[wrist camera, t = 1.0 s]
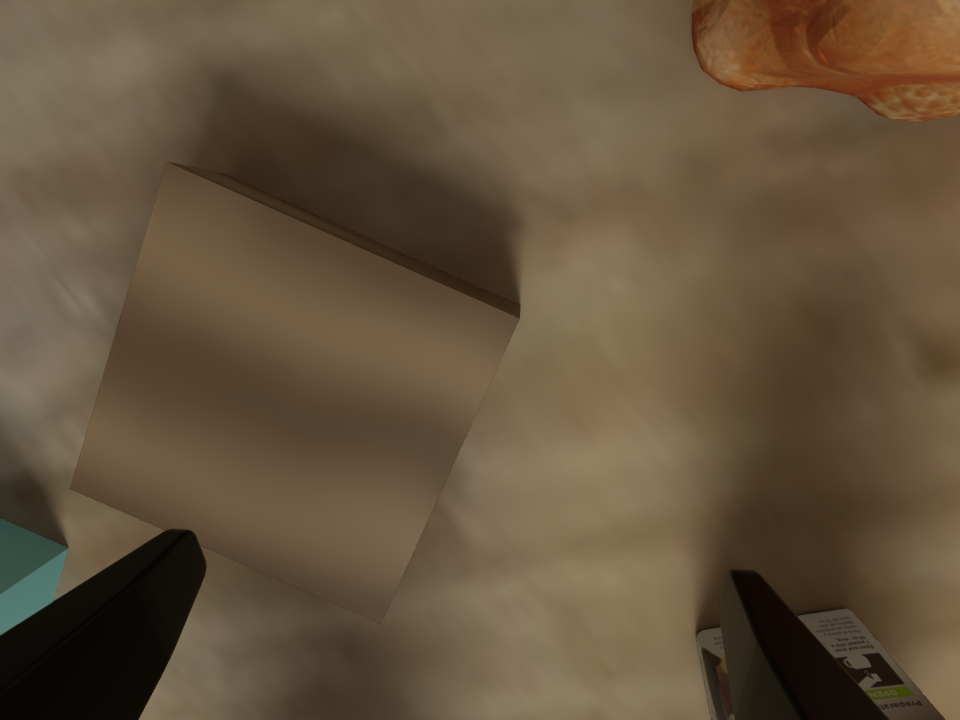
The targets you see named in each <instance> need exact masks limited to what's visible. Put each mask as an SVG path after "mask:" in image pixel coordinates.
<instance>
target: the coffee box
mask: <svg viewBox="0 0 960 720" xmlns="http://www.w3.org/2000/svg"><path fill="white" fill-rule="evenodd" d="M798 618H799V619H800V620H801V621H802V622H803V623H804V624H805V625H806V626H807V628H808V629H809V630H810V631H811V632H812V633H813V634H814V635H815V637H816V638H817V639H818V640H819V641H820V642H821V643H822V644H823V645H824V647H825V648H826V649H827V650H828V651H829V652H830V653H831V654H832V656H833V657H834V658H835V659H836V660H837V661H838V662H839V663H840V664H841V666H842V667H843V668H844V669H845V670H846V671H847V672H848V673H849V675H850V676H851V677H852V678H853V679H854V680H855V681H856V682H857V684H858V685H859V686H860V687H861V688H862V689H863V690H864V691H865V692H866V694H867V695H868V696H869V697H870V698H871V699H872V700H873V701H874V703H875V704H876V705H877V706H878V707H879V708H880V709H881V710H882V711H883V713H884V714H885V715H886V716H887V717H888V718H889V719H890V720H945V719H944V717H943V716H942V715H941V714H940V713H939V712H938V710H937V709H936V708H935V707H934V706H933V705H932V704H931V702H930V701H929V700H928V699H927V697H926V696H925V695H924V694H923V693H922V692H921V690H920V689H919V688H918V687H917V686H916V685H915V684H914V683H913V681H912V680H911V679H910V678H909V677H908V676H907V675H906V673H905V672H904V671H903V670H902V669H901V668H900V667H899V665H898V664H897V663H896V662H895V661H894V659H893V658H892V657H891V656H890V655H889V654H888V653H887V651H886V650H885V649H884V648H883V647H882V645H881V644H880V643H879V642H878V641H877V640H876V639H875V637H874V636H873V635H872V634H871V633H870V632H869V630H868V629H867V628H866V627H865V625H864V624H863V623H862V622H861V621H860V619H859V618H858V617H857V616H856V615H855V614H854V613H853V612H852V611H851V610H849V609H839V610H833V611H826V612H818V613H812V614H806V615H800V616H798ZM696 641H697V647H698V652H699V658H700V664H701V669H702V674H703V679H704V684H705V689H706V694H707V699H708V704H709V709H710V715H711V720H735V719H734V713H733V707H732V701H731V694H730V687H729V680H728V674H727V667H726V660H725V653H724V646H723V640H722V633H721V627H719V628H713V629H706V630H702V631H700V632H699V633H698V635H697V637H696Z"/></svg>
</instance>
